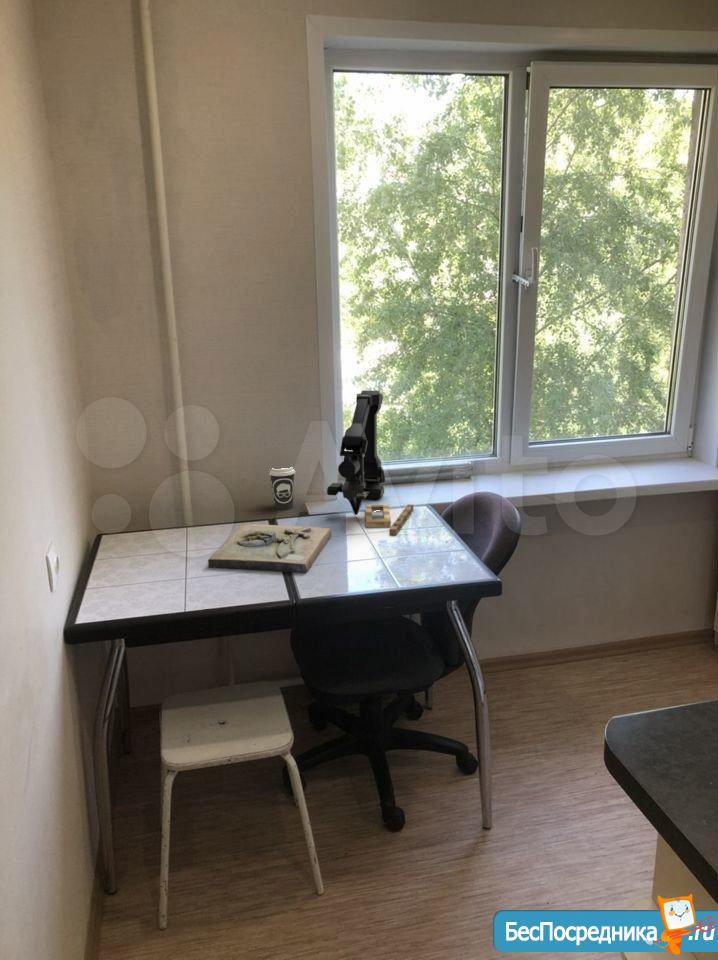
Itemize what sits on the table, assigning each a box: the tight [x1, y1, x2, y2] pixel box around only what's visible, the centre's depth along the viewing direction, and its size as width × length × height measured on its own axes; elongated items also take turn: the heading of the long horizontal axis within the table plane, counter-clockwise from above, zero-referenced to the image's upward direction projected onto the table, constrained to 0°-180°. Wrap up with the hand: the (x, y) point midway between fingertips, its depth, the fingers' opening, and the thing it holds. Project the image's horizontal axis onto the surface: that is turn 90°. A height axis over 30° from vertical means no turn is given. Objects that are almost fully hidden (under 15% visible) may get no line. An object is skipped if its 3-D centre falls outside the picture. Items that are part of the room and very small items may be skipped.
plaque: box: [207, 523, 332, 574], centre depth 220 cm, size 30×7×30 cm
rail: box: [388, 504, 414, 536], centre depth 243 cm, size 26×2×3 cm, turn 163°
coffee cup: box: [268, 466, 296, 511], centre depth 260 cm, size 10×10×15 cm
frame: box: [365, 504, 392, 528], centre depth 248 cm, size 18×8×2 cm, turn 0°
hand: (356, 514), depth 249 cm, fingers closed
